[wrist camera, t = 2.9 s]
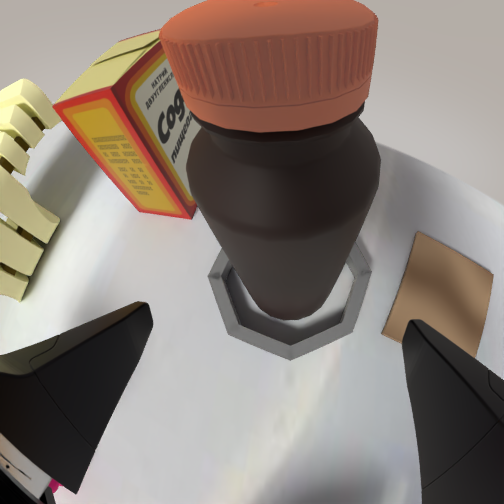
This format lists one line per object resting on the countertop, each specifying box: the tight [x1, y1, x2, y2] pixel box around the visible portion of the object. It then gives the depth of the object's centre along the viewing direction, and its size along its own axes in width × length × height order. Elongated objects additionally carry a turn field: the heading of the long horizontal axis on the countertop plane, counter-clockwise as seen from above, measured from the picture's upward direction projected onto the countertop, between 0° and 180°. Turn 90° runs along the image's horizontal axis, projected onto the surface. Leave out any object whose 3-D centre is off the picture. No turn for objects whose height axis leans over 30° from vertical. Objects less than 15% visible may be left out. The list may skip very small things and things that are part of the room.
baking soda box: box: [52, 29, 201, 220], centre depth 21 cm, size 10×6×16 cm
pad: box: [381, 231, 493, 358], centre depth 19 cm, size 10×10×1 cm
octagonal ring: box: [208, 243, 372, 361], centre depth 22 cm, size 12×12×2 cm
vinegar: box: [159, 0, 381, 320], centre depth 13 cm, size 7×7×20 cm
